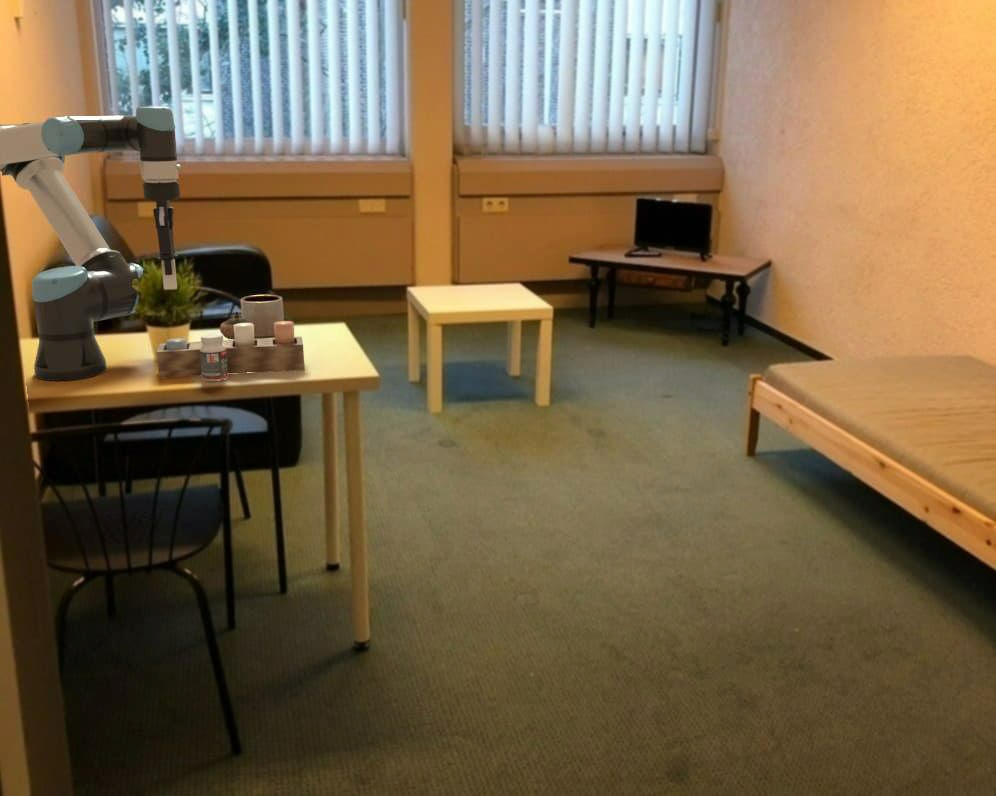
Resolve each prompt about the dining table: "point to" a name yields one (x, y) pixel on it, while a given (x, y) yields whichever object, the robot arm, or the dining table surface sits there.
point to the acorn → (231, 326)
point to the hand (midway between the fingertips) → (170, 288)
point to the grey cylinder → (176, 344)
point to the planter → (262, 313)
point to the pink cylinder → (284, 332)
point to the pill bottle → (213, 357)
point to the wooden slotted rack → (233, 358)
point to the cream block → (244, 334)
